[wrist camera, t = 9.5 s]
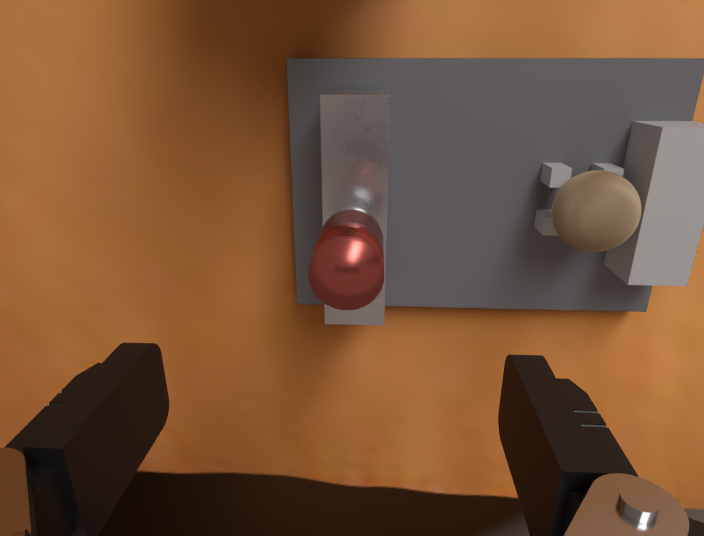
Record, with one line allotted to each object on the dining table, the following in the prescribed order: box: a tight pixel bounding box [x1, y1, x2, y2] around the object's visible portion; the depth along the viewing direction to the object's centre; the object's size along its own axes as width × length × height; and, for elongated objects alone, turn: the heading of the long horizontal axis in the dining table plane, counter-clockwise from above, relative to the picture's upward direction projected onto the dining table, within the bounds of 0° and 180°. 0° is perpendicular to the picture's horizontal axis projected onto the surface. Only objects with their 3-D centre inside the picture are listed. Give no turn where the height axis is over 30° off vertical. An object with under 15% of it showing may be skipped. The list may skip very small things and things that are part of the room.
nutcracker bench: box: [286, 58, 704, 312], centre depth 27 cm, size 21×14×4 cm, turn 90°
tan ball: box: [551, 170, 641, 252], centre depth 25 cm, size 4×4×4 cm
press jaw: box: [308, 90, 391, 325], centre depth 23 cm, size 3×11×12 cm, turn 0°
